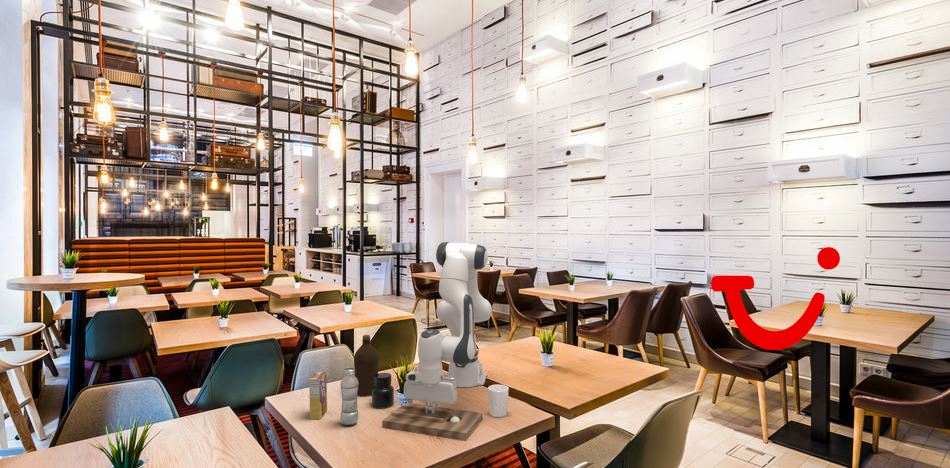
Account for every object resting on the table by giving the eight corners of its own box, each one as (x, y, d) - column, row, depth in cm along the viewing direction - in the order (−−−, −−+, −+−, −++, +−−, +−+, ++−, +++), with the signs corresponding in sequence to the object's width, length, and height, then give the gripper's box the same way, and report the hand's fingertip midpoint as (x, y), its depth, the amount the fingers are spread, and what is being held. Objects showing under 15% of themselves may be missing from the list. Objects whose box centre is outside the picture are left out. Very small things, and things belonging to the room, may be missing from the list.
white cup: (507, 418, 167) (507, 392, 167) (486, 417, 169) (486, 390, 169) (509, 410, 175) (509, 385, 175) (489, 409, 176) (489, 383, 176)
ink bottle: (392, 399, 187) (392, 370, 187) (396, 407, 179) (396, 377, 179) (369, 402, 184) (369, 373, 184) (372, 410, 176) (372, 379, 176)
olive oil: (378, 396, 191) (378, 337, 191) (352, 397, 189) (352, 338, 189) (379, 387, 201) (379, 332, 201) (355, 389, 200) (355, 333, 200)
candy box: (316, 410, 176) (316, 371, 176) (327, 410, 176) (327, 371, 176) (308, 419, 167) (308, 378, 167) (320, 419, 167) (320, 378, 167)
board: (382, 427, 160) (382, 417, 160) (405, 408, 177) (405, 399, 177) (466, 440, 149) (466, 429, 149) (482, 419, 166) (482, 409, 166)
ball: (460, 414, 162) (462, 423, 161) (451, 415, 163) (453, 425, 162) (456, 417, 158) (459, 428, 158) (447, 419, 159) (449, 429, 159)
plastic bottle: (352, 418, 168) (352, 365, 168) (362, 423, 163) (362, 369, 163) (336, 423, 163) (336, 368, 163) (346, 429, 158) (345, 372, 158)
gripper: (459, 375, 163) (460, 413, 163) (409, 370, 170) (409, 406, 170) (453, 380, 157) (453, 419, 157) (401, 375, 164) (401, 412, 164)
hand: (430, 412), depth 164 cm, fingers closed
